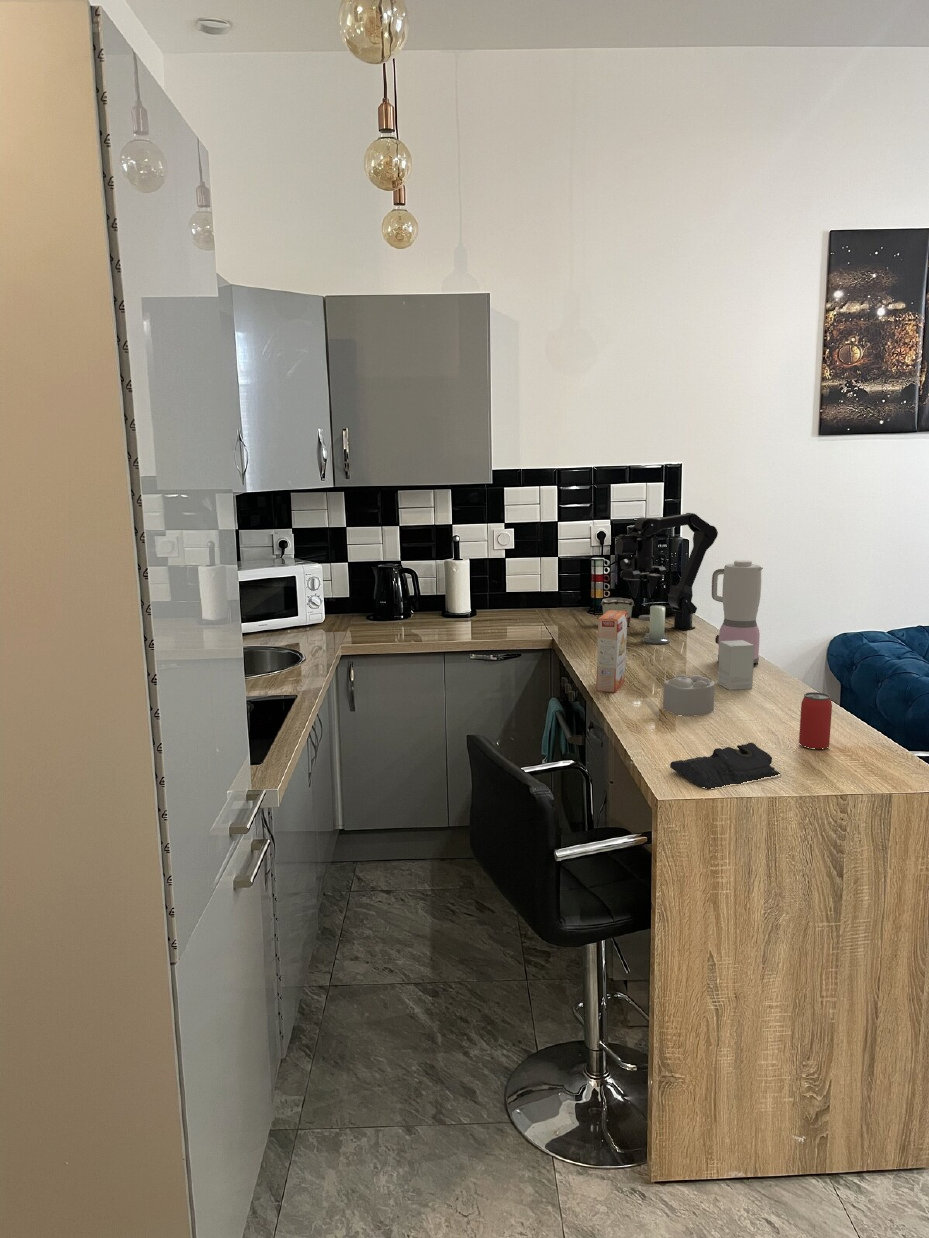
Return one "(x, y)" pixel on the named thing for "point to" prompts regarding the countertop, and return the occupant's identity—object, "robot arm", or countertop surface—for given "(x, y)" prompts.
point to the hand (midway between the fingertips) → (642, 596)
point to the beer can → (815, 720)
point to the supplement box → (736, 664)
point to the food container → (618, 606)
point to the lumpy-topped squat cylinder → (689, 695)
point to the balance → (646, 638)
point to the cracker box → (611, 651)
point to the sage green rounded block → (657, 622)
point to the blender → (739, 603)
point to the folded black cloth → (727, 766)
